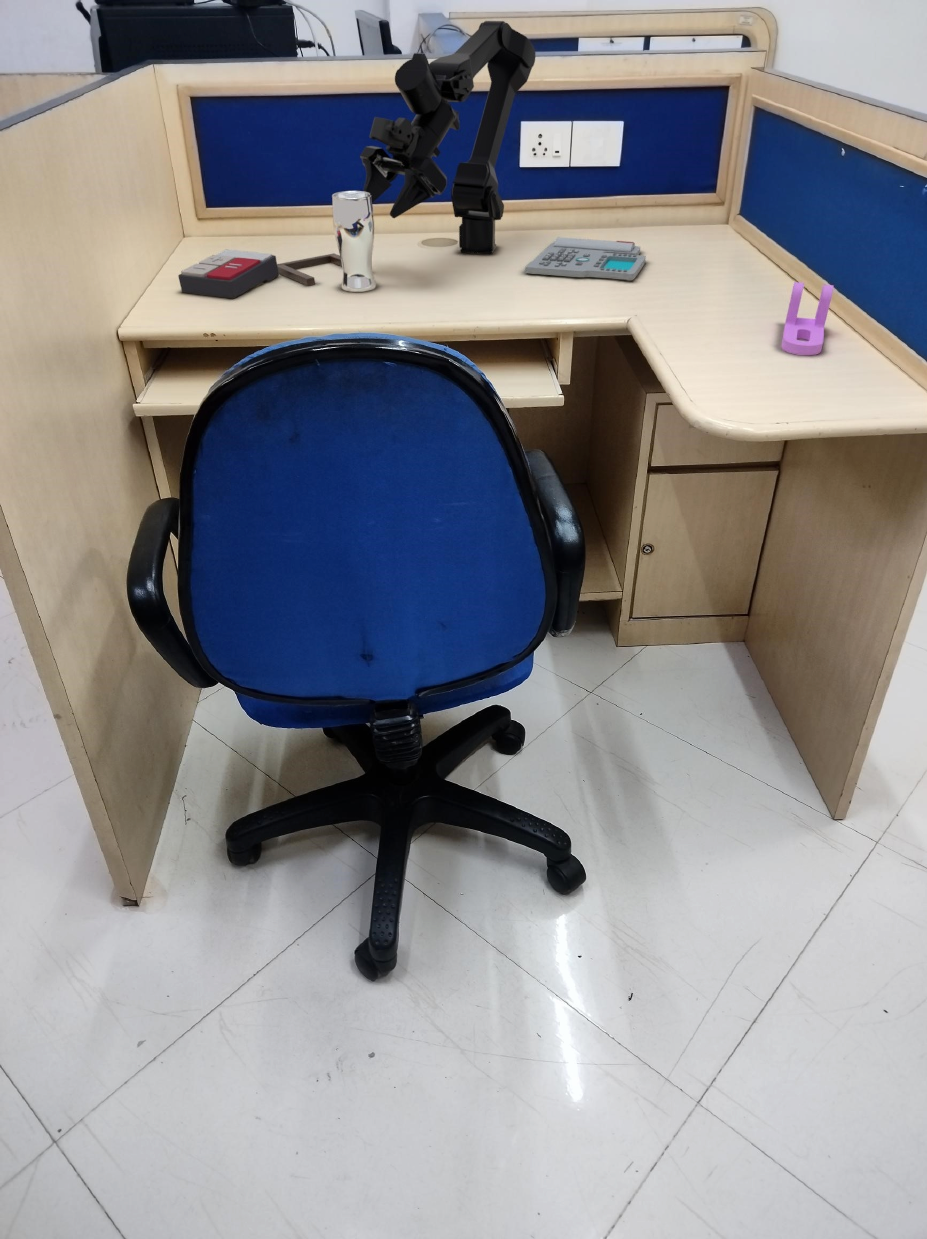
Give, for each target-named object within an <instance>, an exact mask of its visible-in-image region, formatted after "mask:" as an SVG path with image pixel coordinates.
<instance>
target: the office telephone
mask: <svg viewBox="0 0 927 1239" xmlns="http://www.w3.org/2000/svg"><path fill="white" fill-rule="evenodd" d="M640 254H641V246H639V245H636V242H634V241H627V240H626V241H623V240H604V239H603V240H602V239H589V238H575V237H563V236H562V237H561V236H558V237H556V238H555V240H554V241H553V242H552V243H550V245H548V246H547V247H546V248H545V249H544V250H543V251H542V252H540V253H539V255H537V256H536V257H535V258H534V259H533V260H532V261H530V262H529V263H528V264H527V265H526V266H525V268H524V273H526V274H534V275H545V276H549V275H550V276H559V277H570V278H571V277H572V278H602V279H614V280H615V279H616V280H625V281H633V280H635V278H636V277H637V276H638V274H640V272H641V270H642V268H643V267H644V266H645V263H646V258H647V257H646V256H647V255H644V254H643V255H642V254H641V255H640Z"/></svg>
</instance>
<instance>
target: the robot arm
mask: <svg viewBox="0 0 927 1239" xmlns="http://www.w3.org/2000/svg"><path fill="white" fill-rule="evenodd" d="M535 63H536V48H535V47H534V45H533V43H532V42H531V41H530V39H529V38H528V37H527V36H526V35H524V34H523V33H521V32H519V31H517V30H516V29H513V28H512V26H511V25H510V24H509V23H508V22H506V21H504V20H485V21H484V22H483V21H482V22H481V23H480V24H479V26H478V29H477V30H476V31H475V32H474V33H473V34H472V35H471V36H470V37H469V38H468V39H466V41H465V42H464V43H463V44H462V45H461V46H460V47H459V48H458V49H457V50H455V52H454V53H452V54H449V55H444V56H441V57H438V58H436V59H434V60H431V62H429V60H428V57H427V55H426V53H424V52H422V53H421V52H414V53H413V55H412V57H411V59H409V60H406V61H405V62H404V63H403V64H402V65H401V66H399V68H397V69H396V71H395V74H394V82H395V86H396V87H397V89H398V91H399V92H400V94H401V96H402V98H403V100H404V101H405V103H406V105H407V107H408V108H409V110H410V112H411V113H413V114H415V116H414V118H413V119H412V121H411V120H409V119H407V118H405V117H398V118H397V119H396V120H395V121H394V120H391V119H388V118H383V117H378V116H374V118H373V122H372V125H371V128H370V133H369V136H368V138H370V139H371V140H373V141H375V140H376V141H378V142H380V143H381V144H383V145H384V146H385V145H386V147H385V150H386V151H387V152H388V153H387V152H386V151H385V150H384V148H383V147H379V146H375V145H369V146H368V145H367V146H365V147H364V148H363V150H362V152H361V154H360V155H359V157H360V159H361V163H362V165H363V167H364V168H365V173H366V175H365V181H364V185H363V190H362V191H364V192H369V193H371V198H372V204H374V202H376V200H378V199H379V198H380V197H381V196H382V195H383V194H384V193H385V192H386V191H388V190H389V189H390V188H391V187H392V182H394V181H395V180H396V179H397V177H398V175H402V176H404V183H403V186H402V187H401V189H400V191H399V193H398V195H397V197H396V199H395V201H394V203H393V204H392V207H391V209H390V212H389V216H390V217H391V218H392V219H396V218H398V217H399V216H401V215H402V214H404V213H406V212H408V211H409V210H411V209H412V208H414V207H417V206H418V205H420V204H421V203H423V202H425V201H427V200H429V199H432V198H433V199H434V198H435V197H436V195H438V196H442V194H443V193H444V192H445V190H446V188H447V187H448V176H446V174H445V173H444V171H443V170H442V169H441V168H440V167H439V166H438V164H437V163H436V161H435V160H434V159H433V158H432V157H435V158H438V157H439V156H440V154H441V153H442V152H441V151H440V149H439V146H440V144H441V143H442V142H443V139H444V138H445V137H446V134H447V133H448V131H449V130H450V129H453V130H456V131H459V130H460V129H461V128H460V127H461V126H460V120H459V119H460V118H459V116H460V113H459V111H457V110H455V109H453V106H452V105H451V103H450V102H453V103H454V102H455V103H463V102H465V101H466V100H468V98H469V96H470V94H471V92H473V89H474V88H475V85H474V84H475V82H474V78H475V76H477V74H478V73H479V72H481V70H482V69H483V68H485V66H486V65H487V66H486V67H487V71H488V72H487V73H488V75H489V79H490V86H489V89H488V93H487V98H486V101H485V104H484V108H483V112H482V116H481V119H480V123H479V127H478V130H477V134H476V136H475V137H476V138H475V141H474V144H473V148H472V151H471V156H470V158H469V159H468V160H467V162H466V161H465V162H464V161H460V162H459V163H458V165H457V167H456V172H455V176H454V178H453V181H452V186H451V189H450V199H451V204H452V208H453V216H454V218H461V224H460V225H459V226H458V230H459V231H458V246H459V248H460V251H459V252H460V253H461V254H476V255H478V254H479V255H493V253H494V251H495V250H496V248H497V244H496V221H501V220H502V218H503V215H504V212H505V211H504V209H505V204H504V202H503V200H502V197H501V196H500V194H499V190H498V189H499V182H498V177H497V174H496V165H497V161H498V157H499V153H500V150H501V147H502V142H503V139H504V135H505V132H506V128H507V124H508V121H509V117H510V114H511V109H512V106H513V102H514V100H515V99H514V98H515V95H516V94H517V92H518V91H519V90H521V88H523V86H524V85H525V84H526V83H527V82H528V80H529V77H530V75H531V72H532V69H533V67H534V65H535ZM390 155H391V156H392V157H391V156H390Z"/></svg>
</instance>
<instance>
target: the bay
mask: <svg viewBox="0 0 927 1239" xmlns="http://www.w3.org/2000/svg"><path fill="white" fill-rule="evenodd" d="M328 263H329V264H330V263H332V264H335V265H337V266H340V267H342V262H341V257H340V254H337V253H328V254H324V255H318V256H313V257H308V258H303V259H302V258H301V259H297V260H292V261H287V262H281V263H277V267H278V274H280V275H282V276H284V277H286V278H288V279H291V280H293V281H295V282H298V283H301V284H302V285H304V286H307V287H309V286H313V285H316V280H315V277H314V276H313V275H310V274H307V273H304V272H303V271H300V270H298V269H303V268H309V267H314V266H318V265H319V266H320V265H324V264H328Z"/></svg>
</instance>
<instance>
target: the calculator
mask: <svg viewBox="0 0 927 1239" xmlns="http://www.w3.org/2000/svg"><path fill="white" fill-rule="evenodd" d="M277 264H278V262H277V256H276V255H275V254H273V253H266V252H257V251H245V250H238V249H237V250H236V249H229V248H228V249H224V250H222V251H220V252H218V253H216V254H212V255H210V256H208V257H206V258H204V259H202V260H201V261H198V263H194V264H193V265H190V266H189V267H187V268H184V269H183V270H181V271H180V274H178V275H177V277H178V281H179V285H180V290H181V293H184V294H191V295H198V296H199V295H200V296H208V297H214V298H215V297H216V298H224V299H236V298H238V297H239V296H241V295H242V294H244V293H246V292H249V290H251V289H253V288H254V287H256V286H258V285H260V284H261V283H263V282H271V281H273V280H274V279H276V278H278V277H279V273H278V267H277Z"/></svg>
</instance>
